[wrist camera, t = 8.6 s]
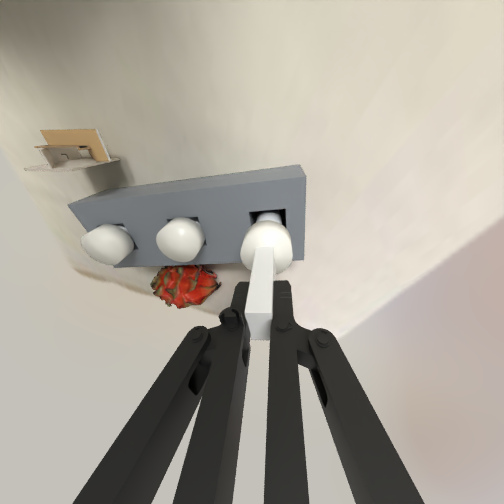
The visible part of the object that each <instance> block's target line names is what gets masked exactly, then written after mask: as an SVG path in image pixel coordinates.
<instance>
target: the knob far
mask: <svg viewBox="0 0 504 504" xmlns="http://www.w3.org/2000/svg"><path fill="white" fill-rule="evenodd" d="M133 242H134V241H133V239H132V237H131V236H130V234H129V232H128V231H127V229H126V227H125V226H124V224H123V223H121V224H116V225H112V224H103V225H101V226H99V227H97V228H96V229H94V230H92V231H90V232H89V233H87V234H85V235H83V236H82V238H81V245H82V247H83V249H84V250H85V252H86V253H87V254H88V255H89V256H91V257H92V258H93V259H95V260H96V261H98V262H100V263H103V264H106V265H116V264H118V263H119V262H120V261H122V260H123V259H124V258H125V257H126V256H127V255H128V254H130V253H131V252H132V251H133V249H134V243H133Z"/></svg>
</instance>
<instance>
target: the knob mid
mask: <svg viewBox="0 0 504 504" xmlns="http://www.w3.org/2000/svg"><path fill="white" fill-rule="evenodd" d="M204 241H205V235H204V232H203V230H202V228H201V225H200V222H199V219H198V217H187V218H185V217H177V218H174V219H172V220H171V221H170V222H169V223H168V224H167V225H166V226H164V227H163V228H162V229H161V230H160V231H159V232H158V234H157V236H156V242H157V245H158V247H159V249H160V250H161V252H162V253H163V254H164V255H166V256H167V257H168V258H170V259H172V260H174V261H178V262H188V261H191V260H193V259H194V258H195V257H196V255H197V253H198V252H199V250H200V249H201V247H202V245H203V244H204Z"/></svg>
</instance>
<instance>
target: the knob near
mask: <svg viewBox="0 0 504 504" xmlns="http://www.w3.org/2000/svg"><path fill="white" fill-rule="evenodd" d="M259 247H274V256H275V268H276V274H279V273H281V272H283V271H284V270H286V269H287V268H288V267H289V265H290V264H291V261H292V257H293V254H292V245H291V237H290V234H289V232H288V230H287V229H286V228H285V227H284V226H283V225H282V217H281V213H280V211H279V210H278V209H276V210H265V211H259V213H258V216H257V220H256V223H254V224H253V225H252V226H250V227H249V228H248V230H247V232H246V234H245V237H244V240H243V244H242V247H241V252H240V256H241V260H242V262H243V264H244V265H245V266H246V268H248V269H249V270H250V271H252V268H253V262H254V256H255V251H256V248H259Z"/></svg>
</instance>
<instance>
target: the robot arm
mask: <svg viewBox="0 0 504 504" xmlns="http://www.w3.org/2000/svg"><path fill="white" fill-rule="evenodd" d="M219 319H220V322H221V325H219V326H217V327H214V328H210V329H207V328H206V327H204V326H197V327H194V328H193V329H191V330H190V331H189V332H188V333H187V335H186V337H185V338H184V340H183V341H182V342H181V344H180V345H179V347H178V348H177V350H176V351H175V353H174V354H173V356H172V357H171V359H170V360H169V362H168V363H167V365H166V366H165V367H164V369H163V371H162V372H161V373H160V375H159V376H158V378H157V379H156V381H155V382H154V384H153V385H152V387H151V388H150V390H149V391H148V393H147V394H146V396H145V397H144V399H143V400H142V401H141V403H140V405H139V406H138V408H137V409H136V410H135V412H134V413H133V415H132V416H131V418H130V419H129V421H128V422H127V424H126V425H125V427H124V428H123V430H122V431H121V433H120V434H119V436H118V437H117V438H116V440H115V441H114V443H113V444H112V446H111V447H110V449H109V450H108V452H107V453H106V455H105V456H104V458H103V459H102V461H101V462H100V464H99V465H98V467H97V468H96V470H95V471H94V473H93V474H92V475H91V477H90V478H89V480H88V482H87V483H86V484H85V486H84V487H83V489H82V490H81V492H80V493H79V495H78V496H77V498H76V499H75V501H74V502H73V504H151V503H152V501H153V499H154V497H155V495H156V493H157V490H158V488H159V486H160V484H161V482H162V480H163V478H164V476H165V474H166V471H167V469H168V467H169V465H170V463H171V461H172V459H173V456H174V454H175V452H176V450H177V448H178V446H179V444H180V442H181V440H182V438H183V435H184V433H185V431H186V429H187V427H188V425H189V423H190V421H191V419H192V416H193V414H194V412H195V410H196V408H197V406H198V404H199V402H200V399H201V397H202V399H201V403H200V407H199V410H198V414H197V417H196V421H195V425H194V428H193V432H192V435H191V439H190V442H189V446H188V450H187V453H186V457H185V460H184V464H183V468H182V471H181V475H180V479H179V482H178V486H177V489H176V494H175V497H174V500H173V504H232V501H233V492H234V484H235V475H236V467H237V459H238V450H239V442H240V433H241V424H242V417H243V408H244V399H245V391H246V383H247V374H248V366H249V358H250V343H249V342H250V336H251V340H270V355H269V380H268V382H269V383H268V406H267V433H266V459H265V485H264V487H265V488H264V504H309V494H308V482H307V469H306V457H305V446H304V434H303V422H302V409H301V399H300V398H301V397H300V386H299V373H298V364H299V365H302V366H304V367H306V368H308V369H309V371H310V374H311V377H312V380H313V383H314V385H315V388H316V391H317V394H318V397H319V400H320V403H321V405H322V408H323V411H324V414H325V417H326V420H327V423H328V426H329V428H330V431H331V434H332V437H333V440H334V443H335V445H336V448H337V451H338V454H339V457H340V460H341V463H342V466H343V468H344V471H345V474H346V477H347V480H348V483H349V485H350V488H351V491H352V494H353V497H354V499H355V502H356V504H424V502H423V500H422V498H421V496H420V494H419V492H418V490H417V489H416V487H415V485H414V483H413V481H412V479H411V477H410V476H409V474H408V472H407V470H406V468H405V466H404V464H403V462H402V461H401V459H400V457H399V455H398V453H397V451H396V449H395V448H394V446H393V444H392V442H391V440H390V438H389V436H388V435H387V433H386V431H385V429H384V427H383V425H382V423H381V422H380V420H379V418H378V416H377V414H376V412H375V410H374V409H373V407H372V405H371V403H370V401H369V399H368V397H367V395H366V394H365V392H364V390H363V388H362V386H361V384H360V383H359V381H358V379H357V377H356V375H355V373H354V371H353V370H352V368H351V366H350V364H349V362H348V360H347V358H346V356H345V355H344V353H343V351H342V349H341V347H340V345H339V343H338V342H337V340H336V338H335V336H334V335H333V334H332V333H331V332H330V331H328V330H326V329H323V328H317V329H314V330H312V331H311V330H308V329H305V328H303V327H301V326H299V325H298V324H297V323H296V322H295V320H294V316H293V305H292V293H291V285H290V284H289V282H288V281H287V280H285V281H276V268H275V256H274V247H259V248H256V251H255V256H254V262H253V268H252V273H251V279H250V282H239V283H238V284H237V286H236V287H235V291H234V295H233V299H232V302H231V306H230V307H228V308H226V309H224V310H223V311H222V312H221V313H220V315H219Z"/></svg>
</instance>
